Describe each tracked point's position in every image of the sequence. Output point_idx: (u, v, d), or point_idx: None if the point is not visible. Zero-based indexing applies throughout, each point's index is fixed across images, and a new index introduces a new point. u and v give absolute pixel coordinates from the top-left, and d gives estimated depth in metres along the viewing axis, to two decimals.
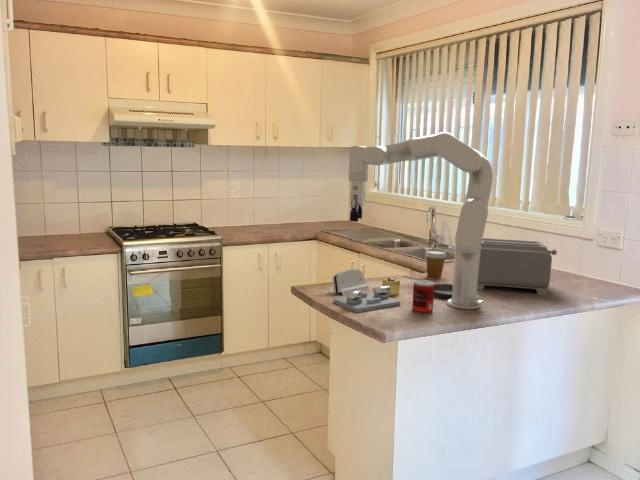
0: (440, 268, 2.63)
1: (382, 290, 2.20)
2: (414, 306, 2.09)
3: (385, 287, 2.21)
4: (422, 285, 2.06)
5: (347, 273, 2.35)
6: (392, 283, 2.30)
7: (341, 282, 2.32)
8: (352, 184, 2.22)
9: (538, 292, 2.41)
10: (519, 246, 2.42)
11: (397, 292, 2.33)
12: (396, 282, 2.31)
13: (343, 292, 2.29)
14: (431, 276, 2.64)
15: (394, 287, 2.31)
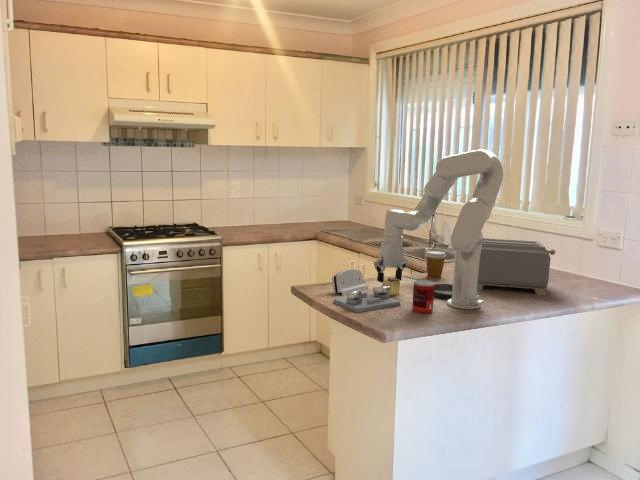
0: (440, 268, 2.63)
1: (382, 290, 2.20)
2: (414, 306, 2.09)
3: (385, 287, 2.21)
4: (422, 285, 2.06)
5: (347, 273, 2.35)
6: (392, 283, 2.30)
7: (341, 282, 2.31)
8: None
9: (537, 292, 2.41)
10: (518, 246, 2.42)
11: (397, 292, 2.33)
12: (396, 282, 2.31)
13: (343, 292, 2.29)
14: (431, 276, 2.64)
15: (394, 287, 2.31)
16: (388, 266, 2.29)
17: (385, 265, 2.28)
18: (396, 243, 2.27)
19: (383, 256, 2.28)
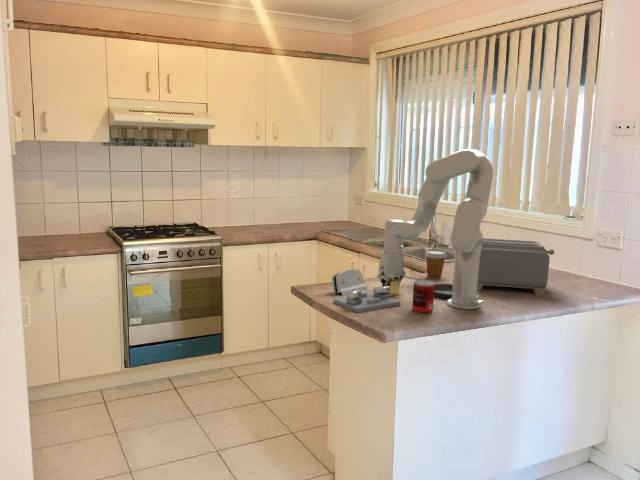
0: (440, 268, 2.63)
1: (382, 290, 2.20)
2: (414, 306, 2.09)
3: (385, 287, 2.21)
4: (422, 285, 2.06)
5: (346, 273, 2.35)
6: (392, 283, 2.30)
7: (340, 282, 2.31)
8: None
9: (536, 292, 2.42)
10: (517, 246, 2.42)
11: (397, 292, 2.33)
12: (396, 282, 2.32)
13: (343, 292, 2.29)
14: (431, 276, 2.64)
15: (394, 287, 2.31)
16: (389, 276, 2.29)
17: (386, 275, 2.29)
18: (396, 253, 2.28)
19: (384, 266, 2.29)
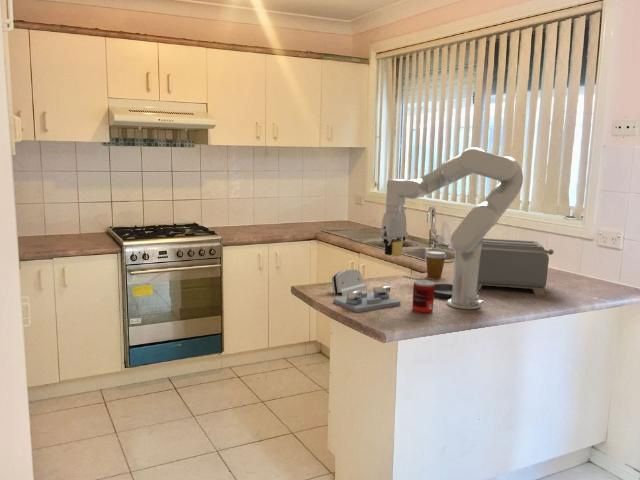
0: (440, 268, 2.63)
1: (382, 290, 2.20)
2: (414, 306, 2.09)
3: (385, 287, 2.21)
4: (422, 285, 2.06)
5: (346, 273, 2.35)
6: (395, 243, 2.27)
7: (340, 282, 2.31)
8: None
9: (535, 292, 2.42)
10: (516, 246, 2.42)
11: (400, 253, 2.30)
12: (399, 242, 2.29)
13: (343, 292, 2.29)
14: (431, 276, 2.64)
15: (397, 248, 2.28)
16: (391, 236, 2.27)
17: (388, 235, 2.26)
18: (398, 212, 2.25)
19: (386, 226, 2.26)
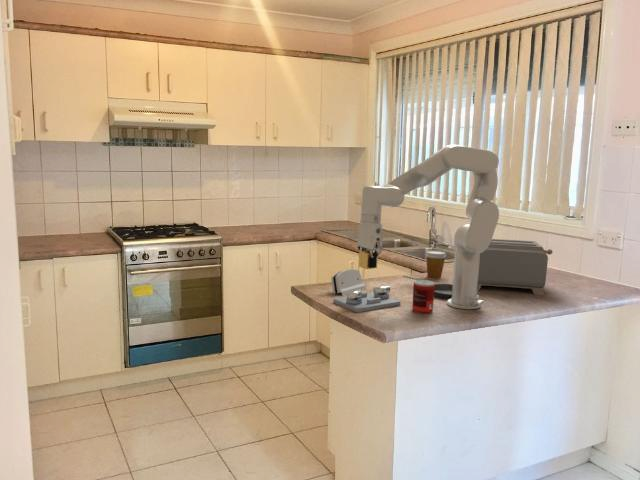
0: (440, 268, 2.63)
1: (382, 290, 2.20)
2: (414, 306, 2.09)
3: (385, 287, 2.21)
4: (422, 285, 2.06)
5: (346, 273, 2.35)
6: (360, 253, 2.15)
7: (340, 282, 2.31)
8: (374, 227, 2.09)
9: (534, 292, 2.42)
10: (515, 246, 2.42)
11: (365, 265, 2.13)
12: (364, 253, 2.13)
13: (343, 292, 2.29)
14: (431, 276, 2.64)
15: (362, 258, 2.14)
16: (360, 245, 2.16)
17: (357, 242, 2.17)
18: (361, 220, 2.12)
19: None
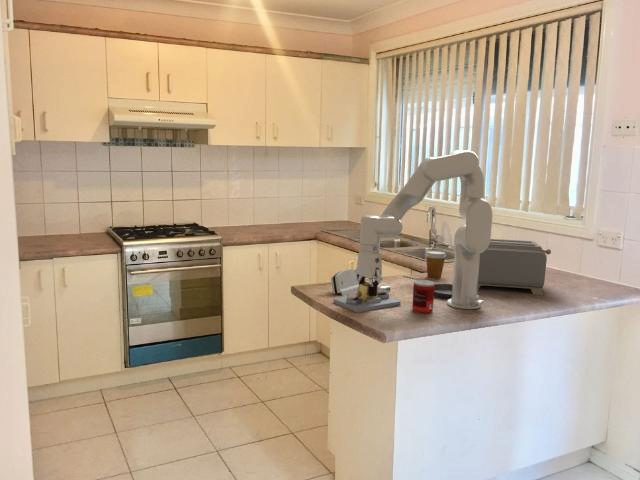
0: (440, 268, 2.63)
1: (382, 290, 2.20)
2: (414, 306, 2.09)
3: (385, 287, 2.21)
4: (422, 285, 2.06)
5: (345, 273, 2.35)
6: (360, 286, 2.17)
7: (340, 282, 2.31)
8: (373, 257, 2.11)
9: (533, 292, 2.42)
10: (514, 246, 2.42)
11: (365, 299, 2.15)
12: (364, 287, 2.15)
13: (343, 292, 2.29)
14: (431, 276, 2.64)
15: (362, 291, 2.16)
16: (359, 273, 2.18)
17: (357, 271, 2.19)
18: (360, 250, 2.14)
19: None
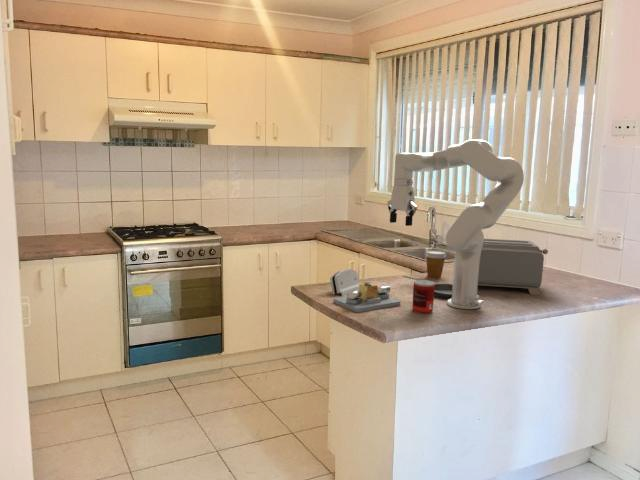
0: (440, 268, 2.63)
1: (382, 290, 2.20)
2: (414, 306, 2.09)
3: (385, 287, 2.21)
4: (422, 285, 2.06)
5: (344, 273, 2.34)
6: (360, 286, 2.17)
7: (339, 282, 2.31)
8: (407, 190, 2.30)
9: (530, 291, 2.42)
10: (511, 246, 2.42)
11: (365, 299, 2.15)
12: (364, 287, 2.15)
13: (342, 293, 2.29)
14: (431, 276, 2.64)
15: (362, 291, 2.16)
16: (393, 207, 2.37)
17: (391, 205, 2.38)
18: (394, 184, 2.33)
19: None
